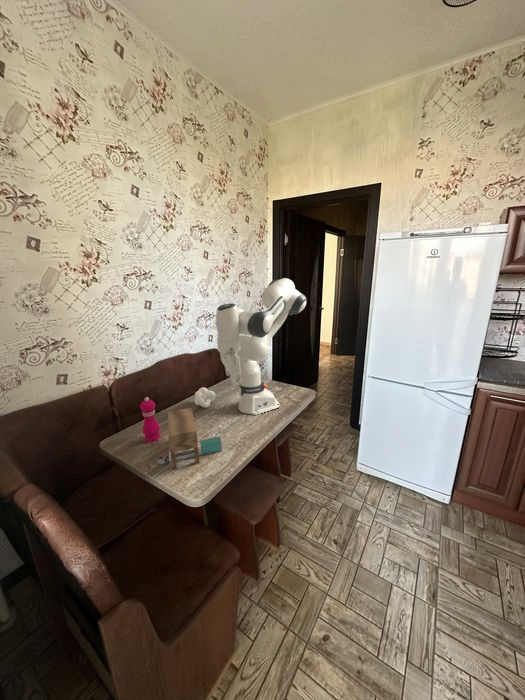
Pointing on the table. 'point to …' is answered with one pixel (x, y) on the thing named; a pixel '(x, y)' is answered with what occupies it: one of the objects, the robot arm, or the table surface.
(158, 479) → the table surface
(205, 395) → the white knot
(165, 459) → the silver flat dome
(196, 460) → the wooden bench
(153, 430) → the pepper mill
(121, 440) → the table surface
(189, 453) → the block
